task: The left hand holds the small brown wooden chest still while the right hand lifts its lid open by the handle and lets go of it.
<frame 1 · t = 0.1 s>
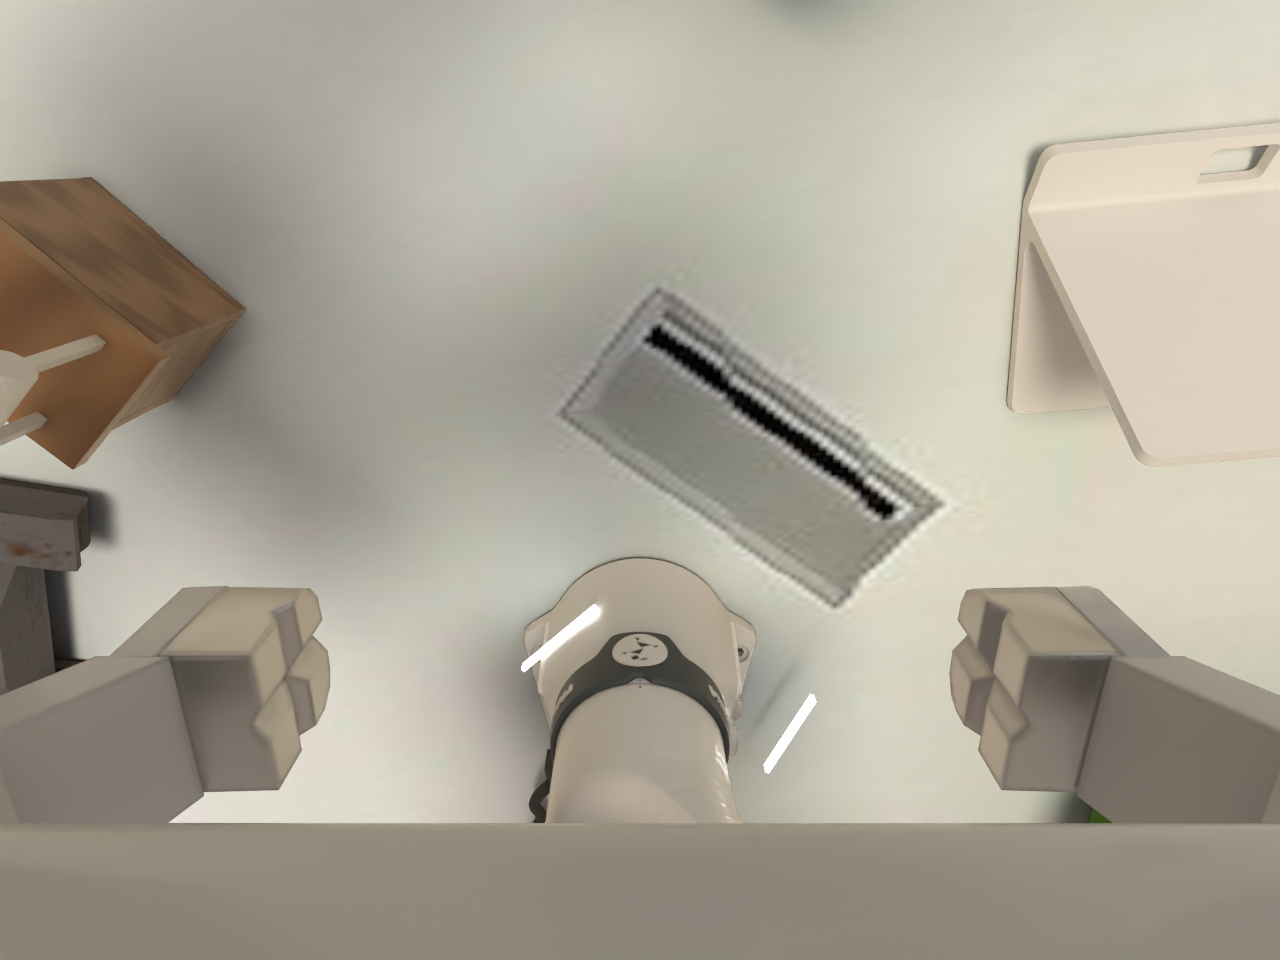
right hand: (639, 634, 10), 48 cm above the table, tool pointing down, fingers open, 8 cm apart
tablet stand: (1198, 269, 55), on the table
chest: (133, 294, 56), on the table
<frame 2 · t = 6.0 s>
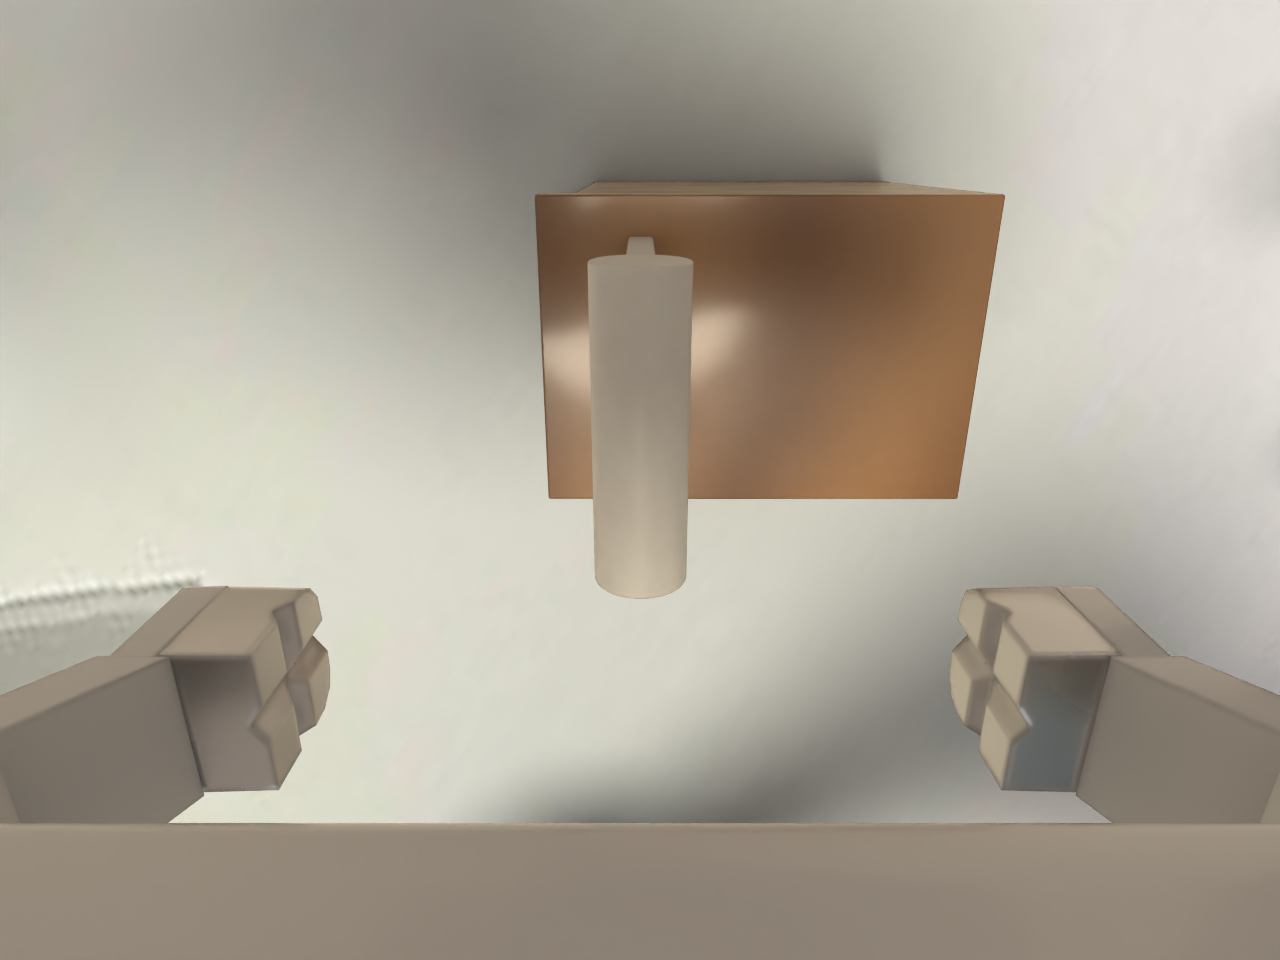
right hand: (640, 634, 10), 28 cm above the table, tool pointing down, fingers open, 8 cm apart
lid: (778, 387, 21), point 16 cm above the table, hinge at 0.0°
chest: (733, 292, 36), on the table
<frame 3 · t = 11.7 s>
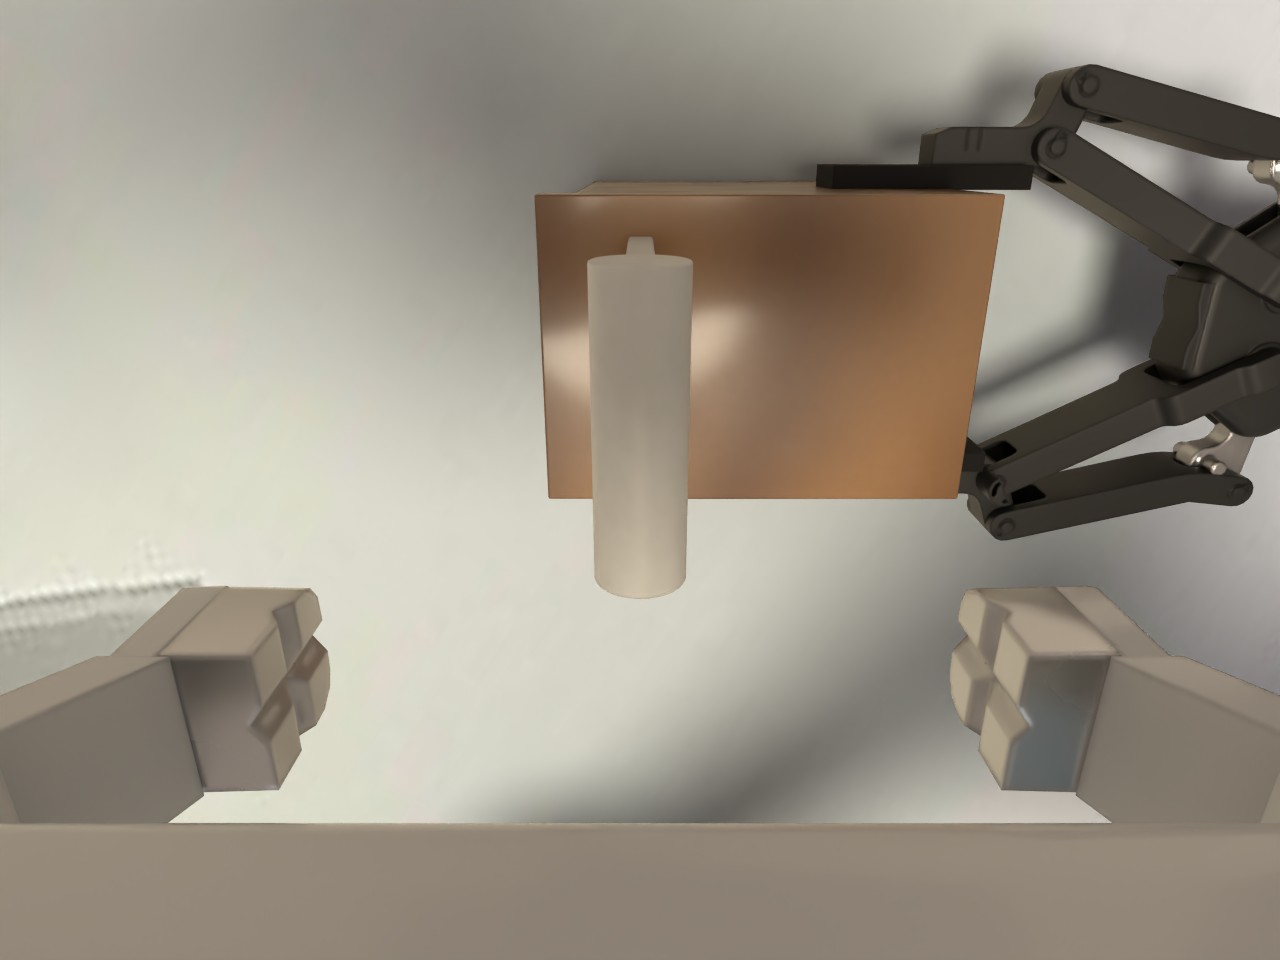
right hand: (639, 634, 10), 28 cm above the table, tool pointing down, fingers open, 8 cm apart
left hand: (813, 322, 29), fingers closed on chest, 9 cm apart
lid: (778, 387, 21), point 16 cm above the table, hinge at 0.0°
chest: (733, 292, 36), on the table, touching left hand
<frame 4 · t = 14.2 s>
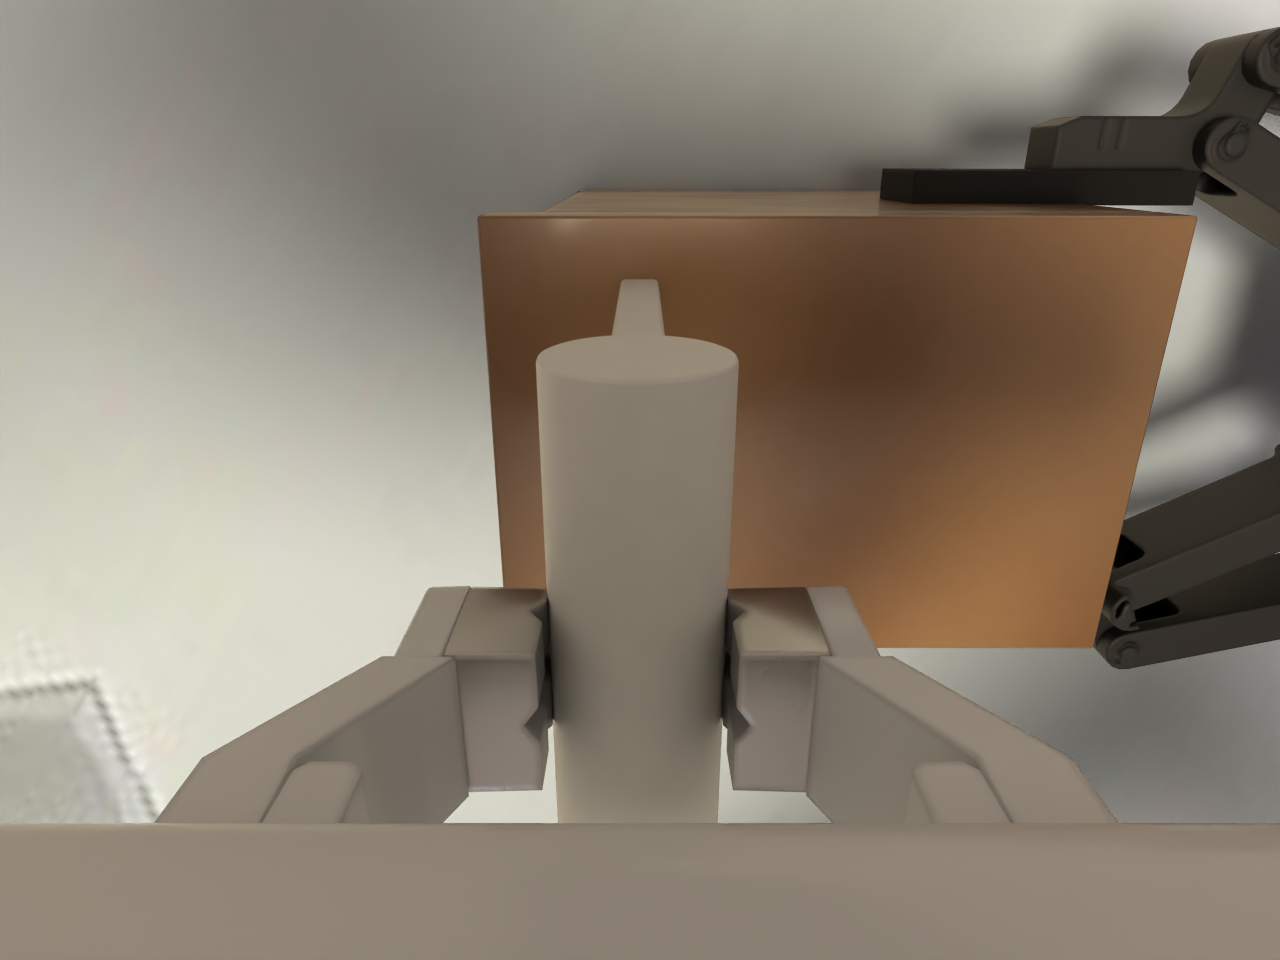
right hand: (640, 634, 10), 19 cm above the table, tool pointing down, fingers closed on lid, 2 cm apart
left hand: (874, 383, 22), fingers closed on chest, 9 cm apart
lid: (858, 525, 13), point 16 cm above the table, hinge at 0.0°, touching right hand
chest: (759, 332, 28), on the table, touching left hand
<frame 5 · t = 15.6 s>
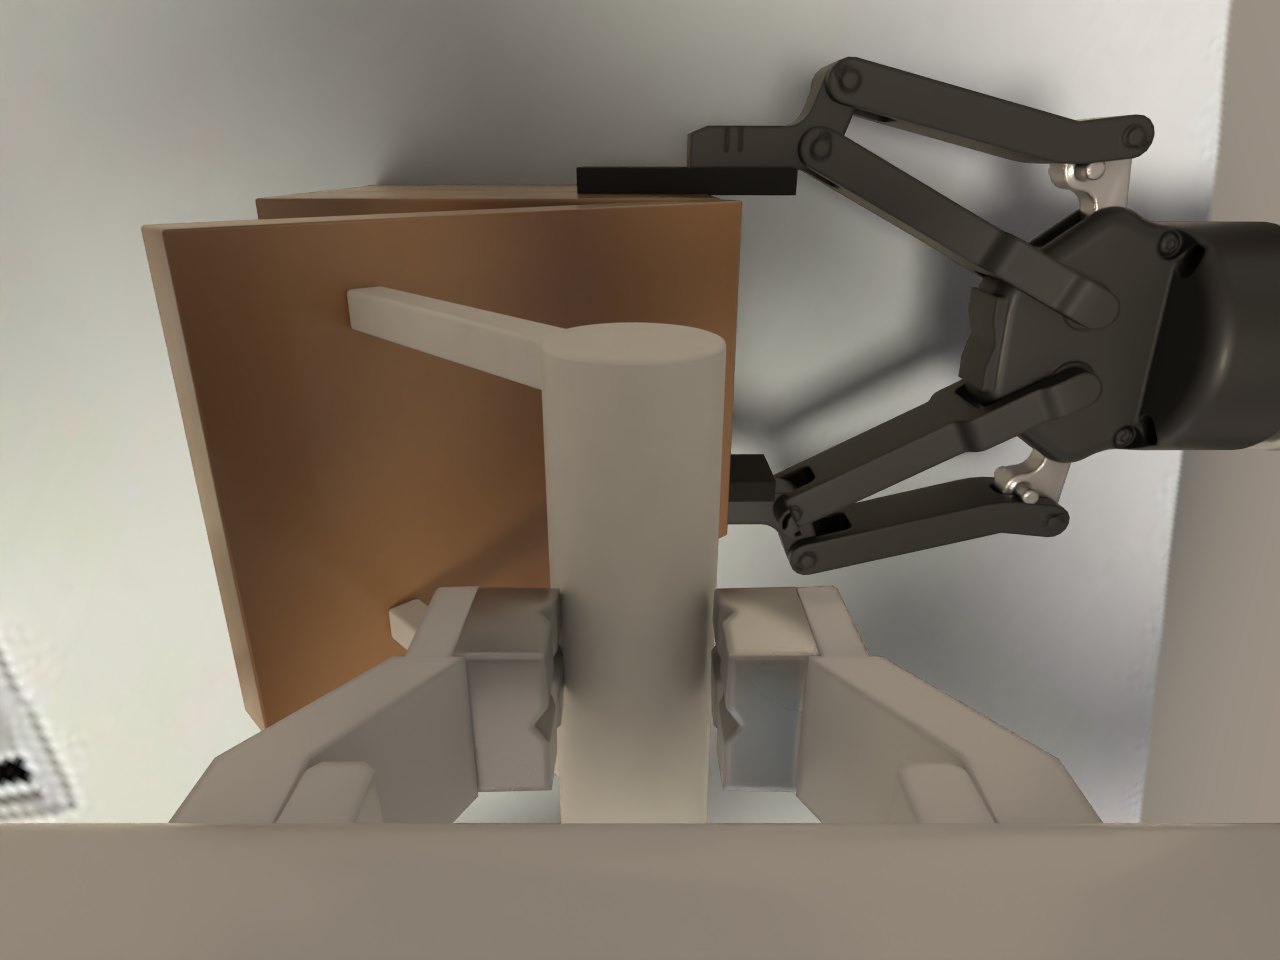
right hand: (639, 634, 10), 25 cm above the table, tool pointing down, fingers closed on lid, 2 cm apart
left hand: (583, 339, 27), fingers closed on chest, 9 cm apart
lid: (645, 474, 15), point 19 cm above the table, hinge at 41.9°, touching right hand
chest: (537, 305, 33), on the table, touching left hand
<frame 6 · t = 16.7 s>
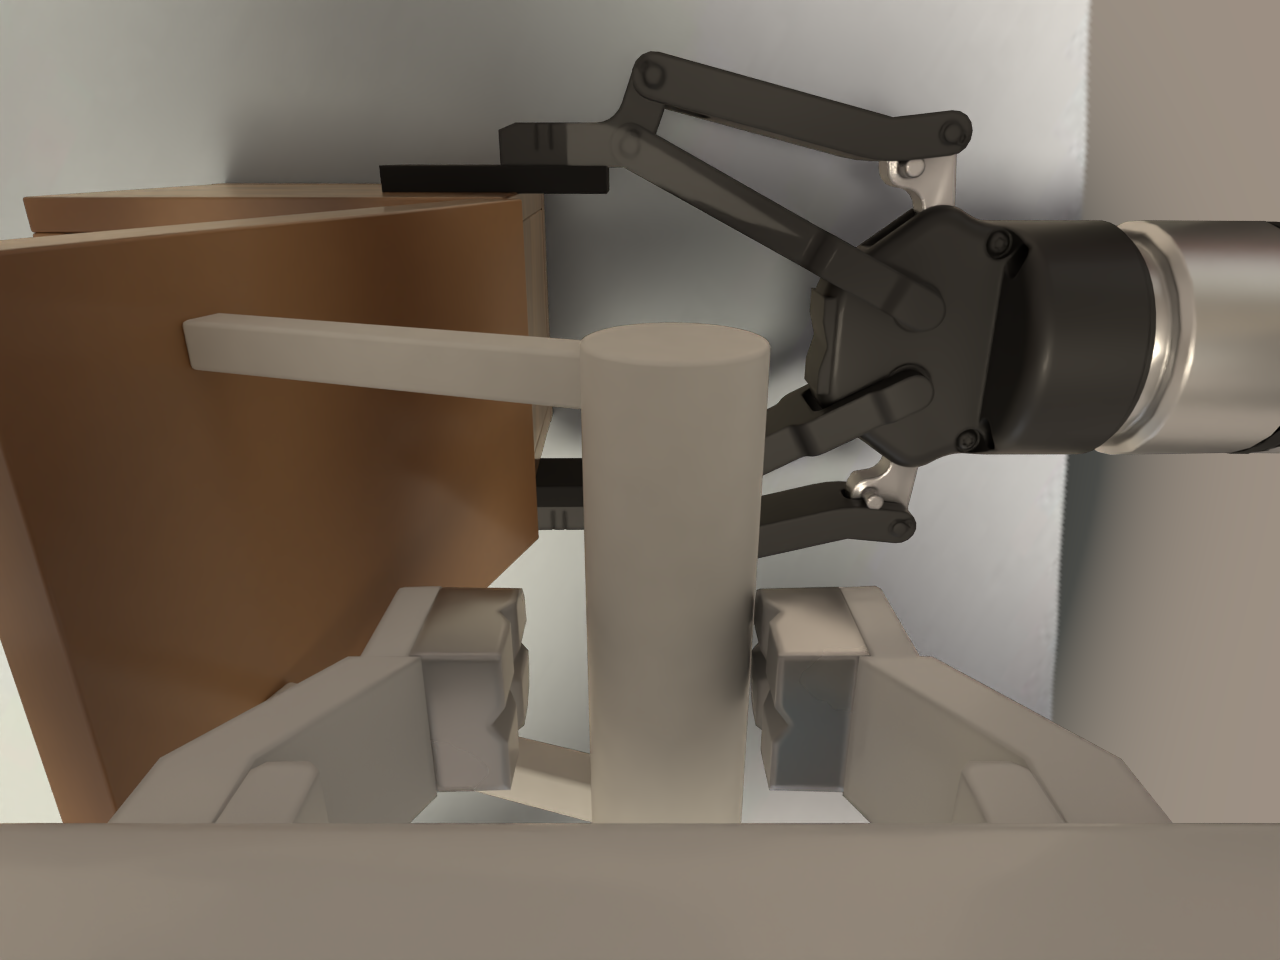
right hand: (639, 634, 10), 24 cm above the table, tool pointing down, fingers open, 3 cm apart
left hand: (410, 341, 26), fingers closed on chest, 9 cm apart
lid: (541, 485, 15), point 19 cm above the table, hinge at 69.9°, touching right hand
chest: (397, 305, 33), on the table, touching left hand
when the left hand's fingers open (7 cm above the table, at t = 20.7 s): chest stays where it is, on the table.
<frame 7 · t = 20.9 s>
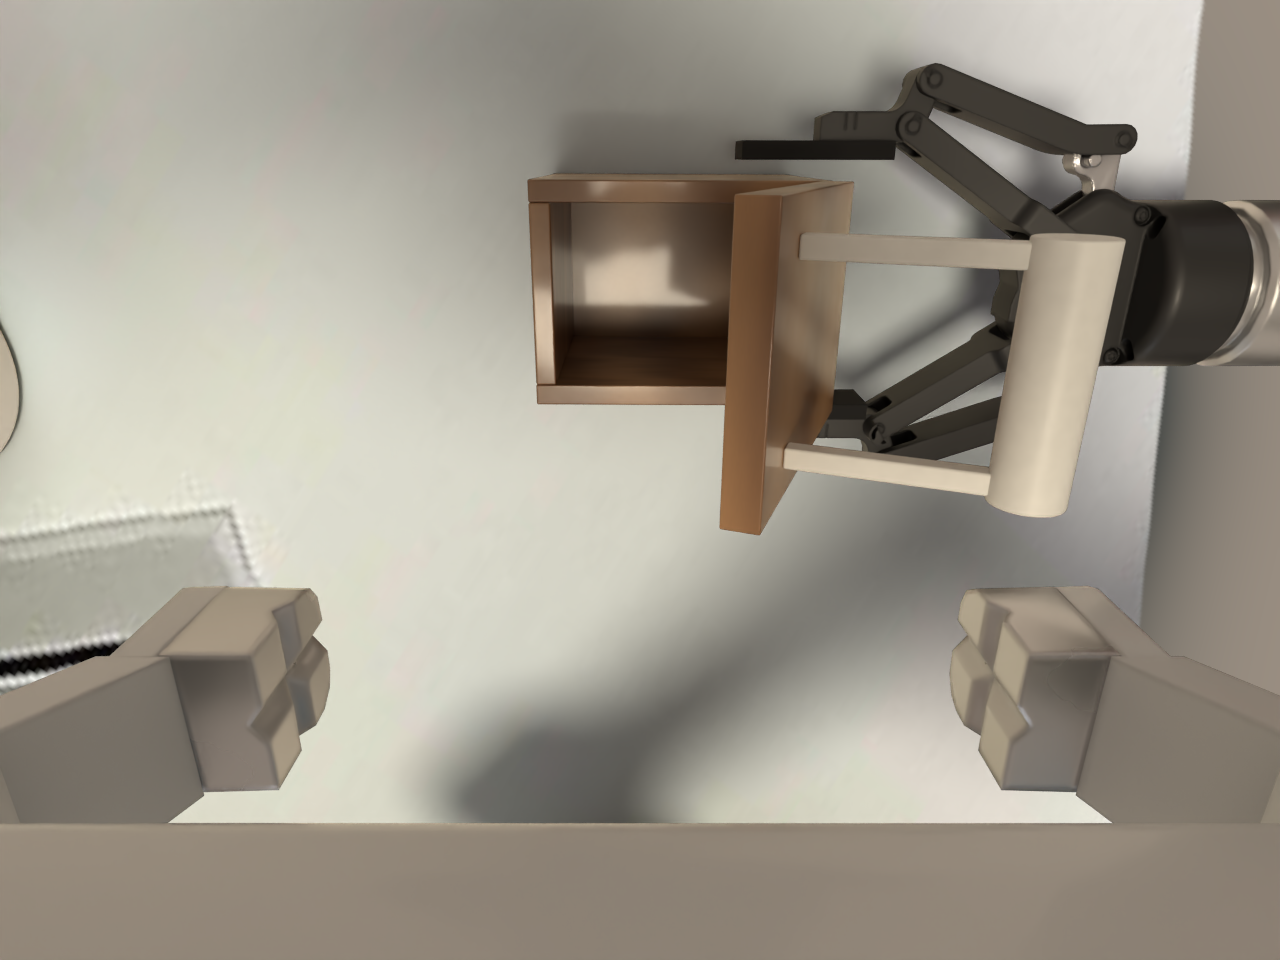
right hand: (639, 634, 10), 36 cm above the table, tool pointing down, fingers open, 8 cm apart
left hand: (732, 284, 38), fingers open, 11 cm apart
lid: (919, 341, 26), point 19 cm above the table, hinge at 68.7°
chest: (669, 264, 44), on the table
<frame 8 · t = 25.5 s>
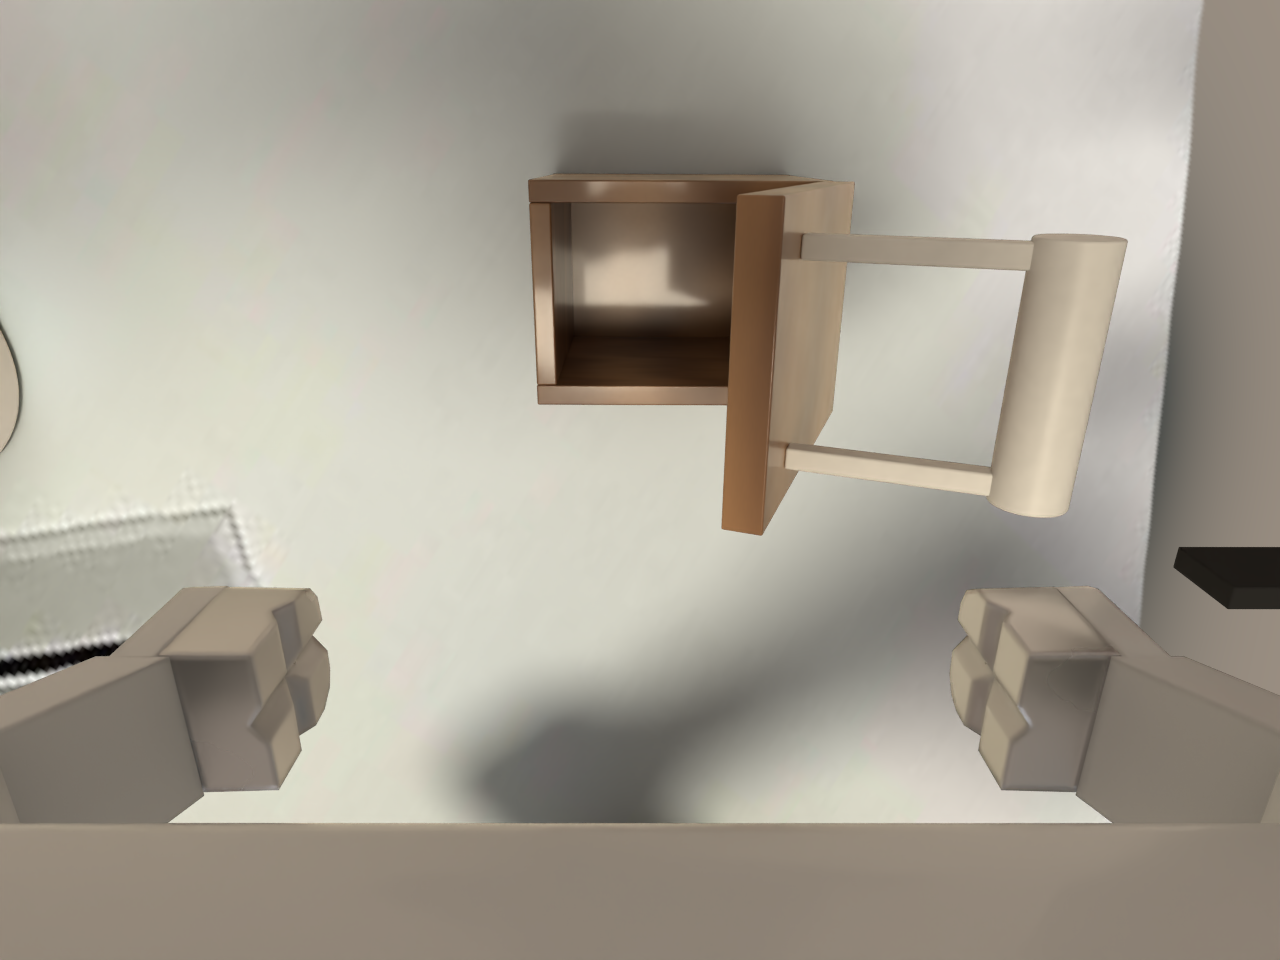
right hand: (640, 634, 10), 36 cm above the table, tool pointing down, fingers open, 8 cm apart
lid: (921, 341, 26), point 19 cm above the table, hinge at 68.7°
chest: (669, 264, 44), on the table
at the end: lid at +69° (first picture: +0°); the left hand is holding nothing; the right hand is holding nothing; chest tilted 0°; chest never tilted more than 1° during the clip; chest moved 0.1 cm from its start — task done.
